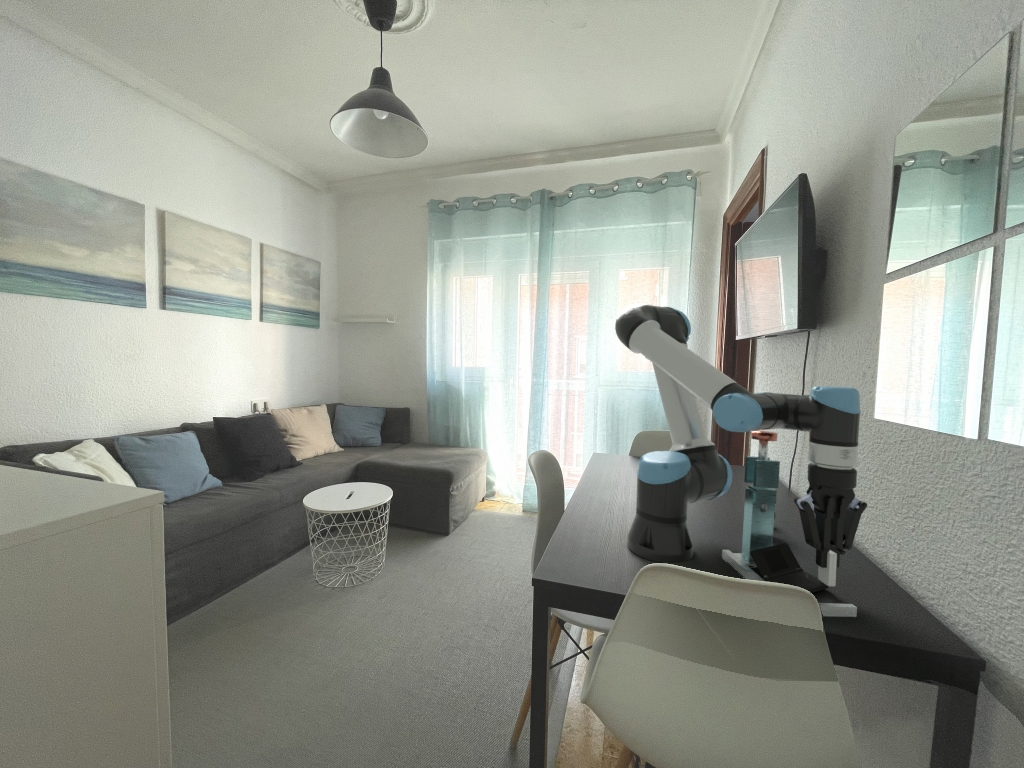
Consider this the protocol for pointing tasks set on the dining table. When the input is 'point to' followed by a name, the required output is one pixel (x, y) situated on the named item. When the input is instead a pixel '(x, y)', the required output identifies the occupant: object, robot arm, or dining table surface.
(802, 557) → the dining table surface
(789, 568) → the handheld gaming console
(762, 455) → the plunger
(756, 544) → the frame
